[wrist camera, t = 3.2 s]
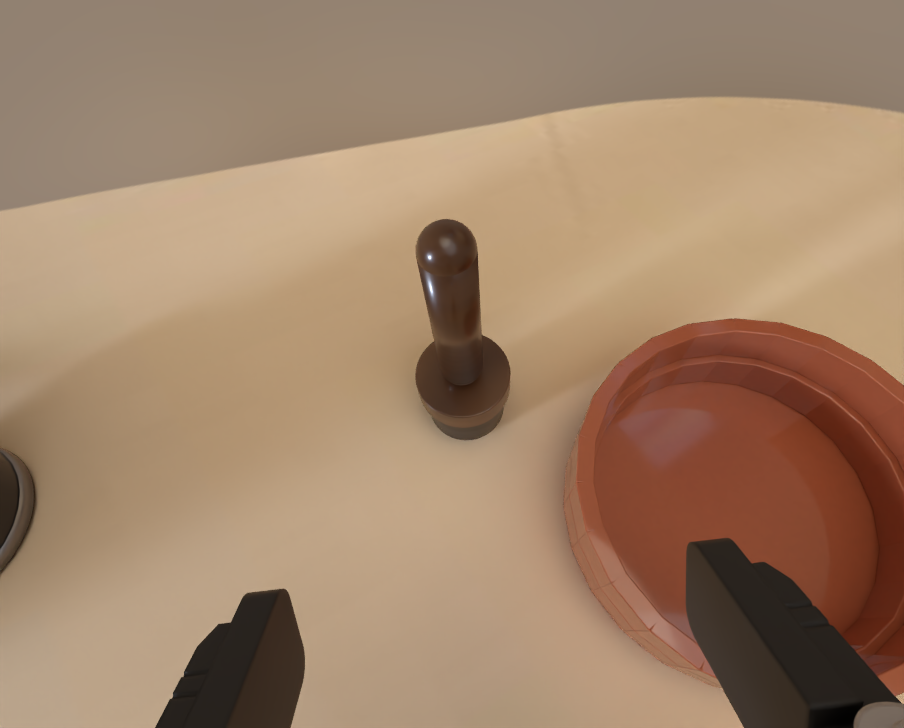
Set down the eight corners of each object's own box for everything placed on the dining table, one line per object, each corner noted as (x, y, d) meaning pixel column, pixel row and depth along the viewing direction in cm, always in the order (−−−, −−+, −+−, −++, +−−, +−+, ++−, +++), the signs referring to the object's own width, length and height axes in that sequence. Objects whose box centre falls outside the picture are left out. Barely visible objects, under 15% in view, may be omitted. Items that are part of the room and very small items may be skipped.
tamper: (408, 412, 33) (340, 244, 19) (460, 353, 34) (434, 155, 20) (473, 462, 31) (454, 320, 17) (525, 398, 33) (547, 217, 18)
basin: (501, 536, 29) (502, 515, 24) (660, 321, 34) (691, 264, 29) (806, 781, 24) (895, 824, 19) (942, 484, 29) (1045, 451, 24)
